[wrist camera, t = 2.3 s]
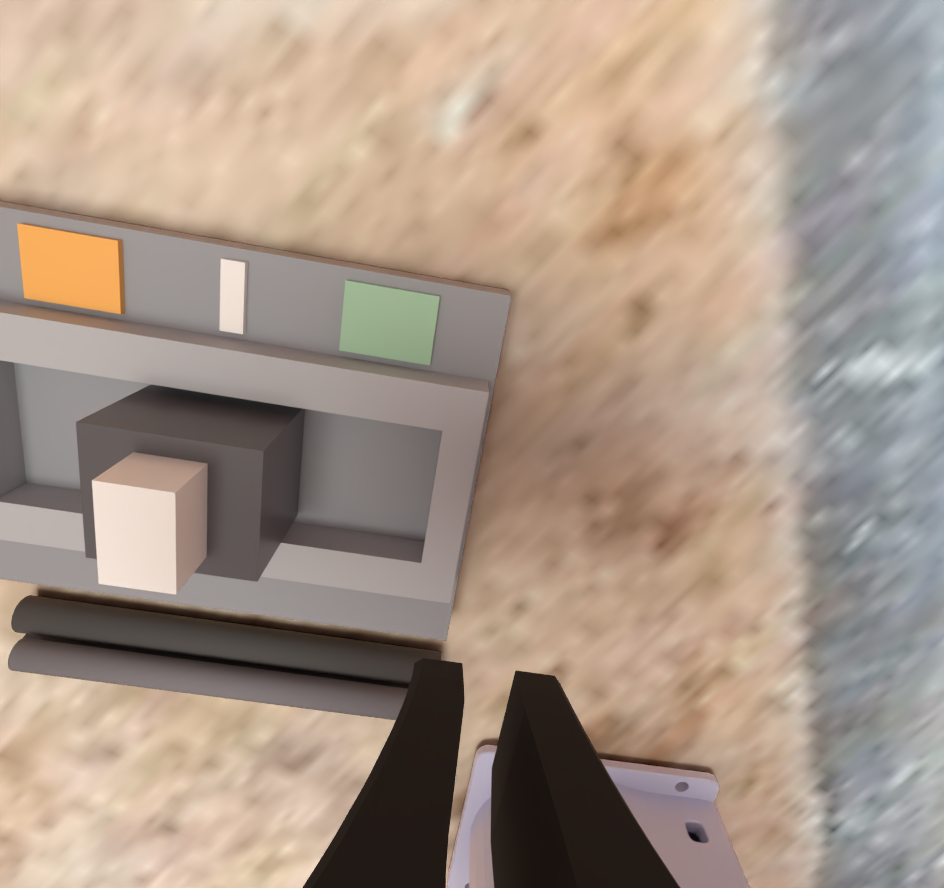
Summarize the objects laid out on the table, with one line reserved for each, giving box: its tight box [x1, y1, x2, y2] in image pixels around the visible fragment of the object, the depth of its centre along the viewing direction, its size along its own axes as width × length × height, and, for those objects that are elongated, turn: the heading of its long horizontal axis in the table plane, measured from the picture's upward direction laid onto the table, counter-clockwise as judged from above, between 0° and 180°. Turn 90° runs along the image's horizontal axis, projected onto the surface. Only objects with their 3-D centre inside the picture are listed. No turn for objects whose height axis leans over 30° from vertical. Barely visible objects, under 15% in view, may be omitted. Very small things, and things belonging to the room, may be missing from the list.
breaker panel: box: [0, 201, 511, 641], centre depth 17 cm, size 14×11×3 cm
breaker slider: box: [76, 384, 305, 595], centre depth 14 cm, size 4×3×5 cm
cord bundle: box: [8, 595, 441, 720], centre depth 20 cm, size 14×3×2 cm, turn 80°
